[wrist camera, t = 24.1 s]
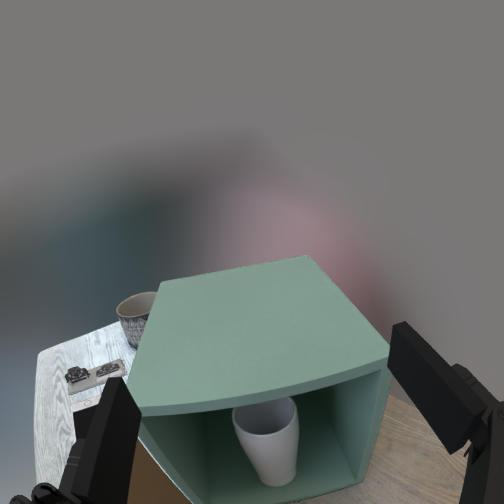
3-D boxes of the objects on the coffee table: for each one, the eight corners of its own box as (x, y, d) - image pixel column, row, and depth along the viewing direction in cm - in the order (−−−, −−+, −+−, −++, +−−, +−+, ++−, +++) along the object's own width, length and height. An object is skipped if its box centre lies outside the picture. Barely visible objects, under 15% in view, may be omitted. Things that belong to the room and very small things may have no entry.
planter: (161, 356, 63) (147, 318, 59) (121, 349, 66) (106, 315, 63) (183, 326, 74) (173, 291, 71) (145, 323, 77) (134, 291, 74)
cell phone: (106, 396, 50) (104, 392, 49) (125, 458, 35) (122, 455, 35) (72, 407, 46) (70, 404, 45) (81, 471, 31) (79, 469, 30)
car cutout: (69, 395, 49) (60, 380, 48) (68, 378, 55) (60, 364, 53) (125, 374, 57) (118, 359, 55) (120, 359, 62) (113, 345, 61)
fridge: (362, 481, 27) (396, 353, 20) (204, 514, 26) (119, 407, 18) (315, 377, 50) (307, 254, 42) (201, 399, 49) (161, 281, 41)
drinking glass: (311, 477, 29) (311, 416, 24) (266, 500, 27) (247, 447, 22) (286, 446, 35) (277, 379, 30) (244, 466, 33) (220, 403, 28)
